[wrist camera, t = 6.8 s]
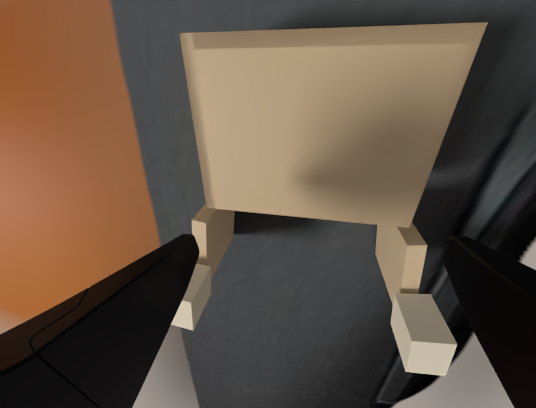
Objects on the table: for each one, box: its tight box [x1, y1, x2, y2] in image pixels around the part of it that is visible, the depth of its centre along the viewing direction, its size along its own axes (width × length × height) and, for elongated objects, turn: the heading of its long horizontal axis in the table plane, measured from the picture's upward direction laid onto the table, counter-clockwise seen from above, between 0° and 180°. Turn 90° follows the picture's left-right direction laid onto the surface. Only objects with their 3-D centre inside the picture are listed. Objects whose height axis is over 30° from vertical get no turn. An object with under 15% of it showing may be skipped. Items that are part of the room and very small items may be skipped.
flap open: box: [376, 222, 457, 376], centre depth 15 cm, size 2×6×10 cm, turn 9°
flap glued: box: [171, 204, 235, 330], centre depth 18 cm, size 2×6×10 cm, turn 171°
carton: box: [179, 22, 488, 228], centre depth 14 cm, size 9×12×7 cm
